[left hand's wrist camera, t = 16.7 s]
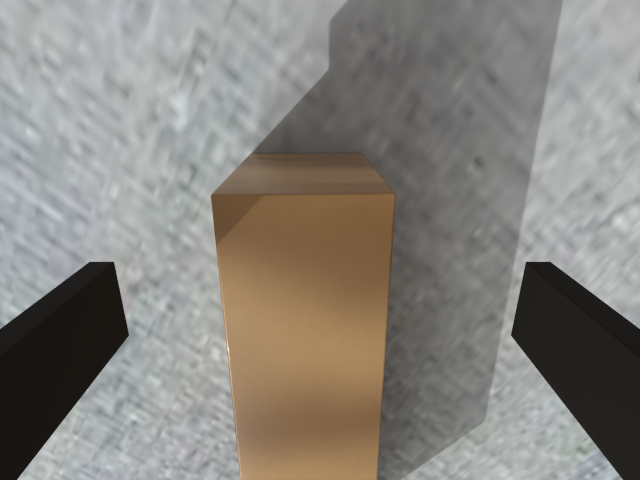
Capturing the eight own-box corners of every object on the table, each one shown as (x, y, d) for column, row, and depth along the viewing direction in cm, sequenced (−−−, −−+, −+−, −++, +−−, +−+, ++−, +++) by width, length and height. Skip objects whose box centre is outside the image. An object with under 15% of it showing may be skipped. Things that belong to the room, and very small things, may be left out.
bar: (250, 153, 18) (210, 194, 11) (361, 152, 19) (396, 192, 11) (274, 518, 27) (261, 676, 20) (350, 516, 27) (364, 673, 20)
